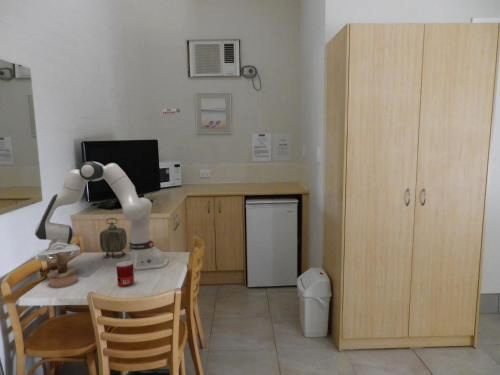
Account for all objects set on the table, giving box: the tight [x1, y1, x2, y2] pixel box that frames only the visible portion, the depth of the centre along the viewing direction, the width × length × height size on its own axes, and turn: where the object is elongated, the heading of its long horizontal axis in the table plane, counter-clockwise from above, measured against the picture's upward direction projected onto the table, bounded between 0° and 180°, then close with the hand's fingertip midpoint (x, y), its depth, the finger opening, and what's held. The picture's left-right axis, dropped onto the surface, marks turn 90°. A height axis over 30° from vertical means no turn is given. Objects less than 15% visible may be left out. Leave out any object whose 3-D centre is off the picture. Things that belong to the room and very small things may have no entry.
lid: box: [46, 252, 78, 280], centre depth 185 cm, size 14×14×11 cm
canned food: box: [116, 260, 135, 288], centre depth 182 cm, size 8×8×11 cm
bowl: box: [49, 274, 78, 288], centre depth 185 cm, size 12×12×5 cm
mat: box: [76, 266, 100, 278], centre depth 201 cm, size 16×16×1 cm
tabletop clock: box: [99, 217, 128, 258], centre depth 228 cm, size 14×9×25 cm, turn 91°
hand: (61, 257), depth 186 cm, fingers open, 8 cm apart
